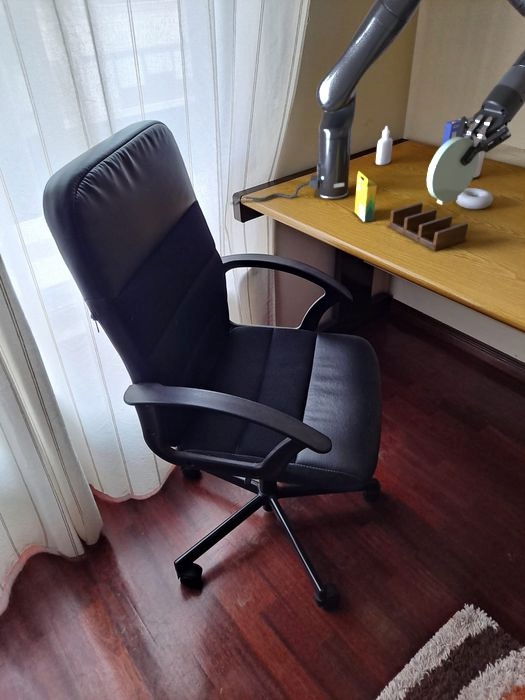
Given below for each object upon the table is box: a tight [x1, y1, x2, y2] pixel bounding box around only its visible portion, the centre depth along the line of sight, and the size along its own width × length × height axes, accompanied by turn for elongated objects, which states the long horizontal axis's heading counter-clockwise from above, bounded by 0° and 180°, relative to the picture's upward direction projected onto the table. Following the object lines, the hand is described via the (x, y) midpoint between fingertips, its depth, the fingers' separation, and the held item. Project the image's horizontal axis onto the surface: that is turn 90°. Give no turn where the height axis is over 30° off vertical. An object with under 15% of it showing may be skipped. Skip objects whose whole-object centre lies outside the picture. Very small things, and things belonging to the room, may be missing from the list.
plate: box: [426, 136, 479, 206], centre depth 114 cm, size 2×14×14 cm, turn 119°
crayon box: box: [354, 170, 378, 223], centre depth 134 cm, size 7×3×12 cm, turn 12°
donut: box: [455, 187, 494, 210], centre depth 140 cm, size 10×4×10 cm
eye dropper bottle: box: [375, 125, 394, 166], centre depth 168 cm, size 4×6×12 cm
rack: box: [389, 201, 469, 252], centre depth 126 cm, size 17×10×4 cm, turn 29°
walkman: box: [441, 118, 461, 146], centre depth 170 cm, size 8×3×12 cm, turn 121°
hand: (458, 162), depth 113 cm, fingers closed on plate, 2 cm apart
